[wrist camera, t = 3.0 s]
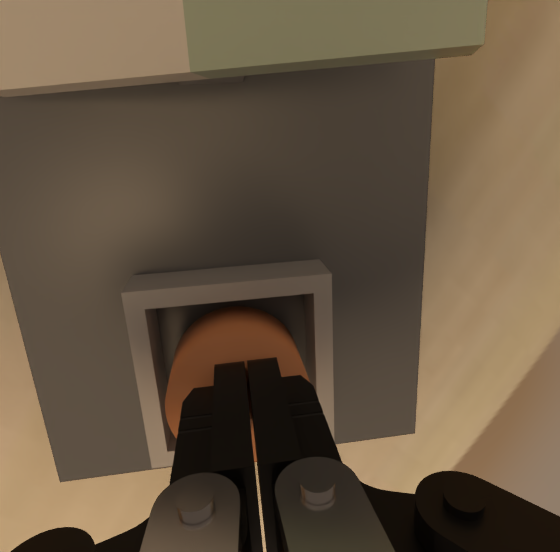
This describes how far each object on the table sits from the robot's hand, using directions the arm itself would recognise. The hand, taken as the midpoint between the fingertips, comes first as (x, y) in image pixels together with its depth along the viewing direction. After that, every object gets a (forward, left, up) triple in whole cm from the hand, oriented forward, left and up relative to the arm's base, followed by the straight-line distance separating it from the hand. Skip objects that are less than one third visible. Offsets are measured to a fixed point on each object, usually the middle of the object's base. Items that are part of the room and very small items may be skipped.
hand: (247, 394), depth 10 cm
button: (0, 0, -2) cm, 2 cm away
